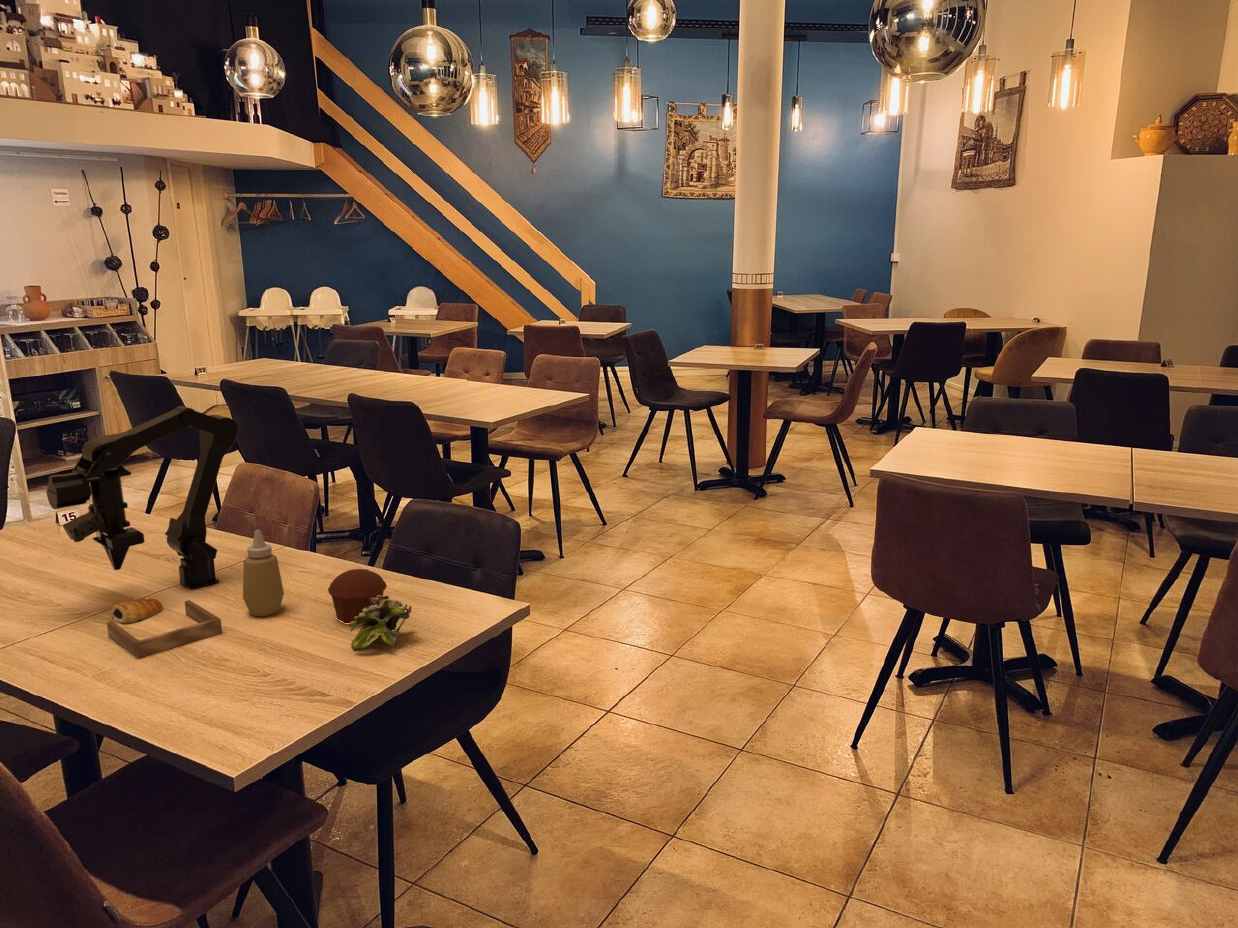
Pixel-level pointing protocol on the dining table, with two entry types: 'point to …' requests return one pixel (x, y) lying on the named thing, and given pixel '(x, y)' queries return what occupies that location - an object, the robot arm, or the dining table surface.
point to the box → (169, 633)
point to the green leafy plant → (379, 621)
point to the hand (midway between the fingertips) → (117, 569)
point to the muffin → (355, 592)
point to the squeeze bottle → (261, 579)
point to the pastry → (135, 610)
